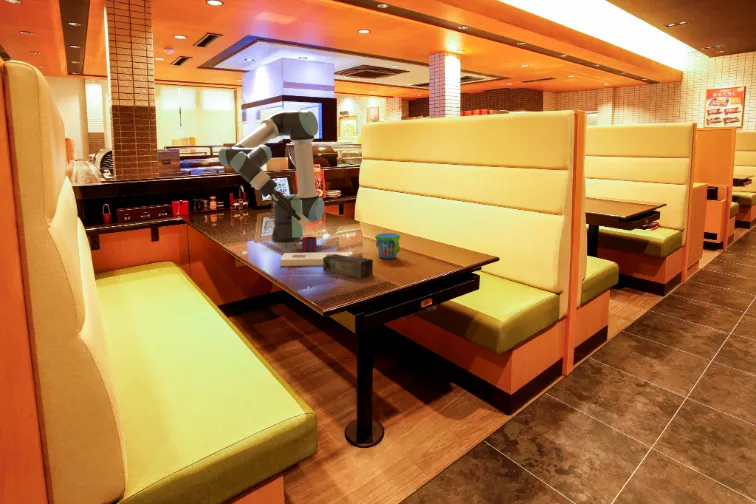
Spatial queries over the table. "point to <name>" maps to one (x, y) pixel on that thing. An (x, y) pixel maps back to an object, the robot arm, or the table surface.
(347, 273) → the beverage carton
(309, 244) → the cup
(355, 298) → the table surface
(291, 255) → the socket panel
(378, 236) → the sippy cup
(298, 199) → the plug
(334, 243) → the table surface
